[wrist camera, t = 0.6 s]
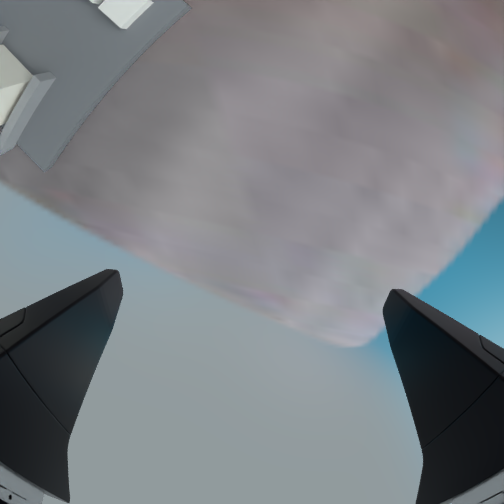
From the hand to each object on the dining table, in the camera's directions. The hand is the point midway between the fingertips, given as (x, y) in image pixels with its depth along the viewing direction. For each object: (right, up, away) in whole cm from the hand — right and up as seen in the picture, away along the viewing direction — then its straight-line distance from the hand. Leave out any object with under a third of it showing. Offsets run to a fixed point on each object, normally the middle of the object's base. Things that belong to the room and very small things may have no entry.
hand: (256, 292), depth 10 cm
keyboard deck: (-15, +17, +5) cm, 23 cm away
